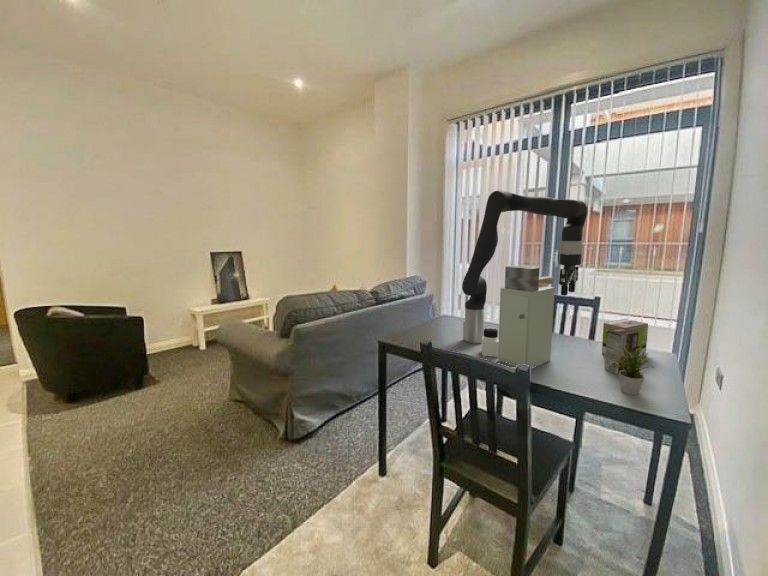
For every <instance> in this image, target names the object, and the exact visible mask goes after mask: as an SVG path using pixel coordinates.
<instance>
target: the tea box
mask: <svg viewBox="0 0 768 576" xmlns="http://www.w3.org/2000/svg"><path fill="white" fill-rule="evenodd" d="M602 328H603V329H602V331H603V332H602V342H601V343H602V345H601V353H603V354H602V355H605V353H606V341H607V331H609V330H615V329H621V328H626V329H629V330H632V331H635V332H639V334H638V345H637V348H639V347H640V346H642V348H643V349H641V351H640V353H639V356H638V358H640V357H641V355H642V353H643V352H644V351H645V354H644V356H645V355H646V354H647V343H648V331H649V323H647V322H643V321H637V320H635V319H628V318H622V319H618V320H617V319H616V320H613V321H606V322H603V326H602Z"/></svg>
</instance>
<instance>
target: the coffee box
mask: <svg viewBox="0 0 768 576" xmlns="http://www.w3.org/2000/svg"><path fill="white" fill-rule="evenodd" d="M638 334H639V332H635V331H632V330H629V329H626V328H621V329H615V330H609V331H607V341H606V353H605V354H604V355H605V356H604V364H603V365H604V366H603V369H604V370H607V371H609V372H612V373H613V374H616V375H619V372H620V371H622V370H623V369H624V368H623V367H624V366H623V365H622V364H620V363H618V362H616V361H613V360H610V359H616V360H620V359H619V358H618V357H620V356H621V357H620V358H621V359H623V360H624V361H623V360H622V361H623V362H625V363H627V362H626V360H625V359H624V358H623V356H625V355H624V352H623V350H622V348H623V349H626V350H627V351H628V352H629V353H630V355H631V357H632V358H633V354H634V352H635V351H636V349H637V345H638ZM617 344H618V345H617ZM619 345H620V346H621V347H622V348H621V347H620V346H619ZM609 349H611V350H609ZM613 350H614V351H613ZM616 351H617V352H616ZM614 352H615V353H614ZM625 352H626V351H625ZM619 353H620V354H619ZM618 354H619V355H620V356H619V355H618ZM626 354H627V353H626ZM622 355H623V356H622ZM617 356H618V357H617ZM625 357H626V356H625ZM627 357H628V356H627ZM611 361H612V362H611ZM614 364H618V365H621V366H623V367H618V368H614V367H615V366H612V365H614ZM624 370H625V369H624Z"/></svg>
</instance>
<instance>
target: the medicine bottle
mask: <svg viewBox="0 0 768 576" xmlns="http://www.w3.org/2000/svg"><path fill="white" fill-rule="evenodd" d="M480 349H481V354H482V355H483V356H482V355H481V356H482V357H485V356H494V357H493V358H498V349H499V330H498V329H496V328H494V327H486V328H483V337H482V343H481V348H480Z"/></svg>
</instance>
